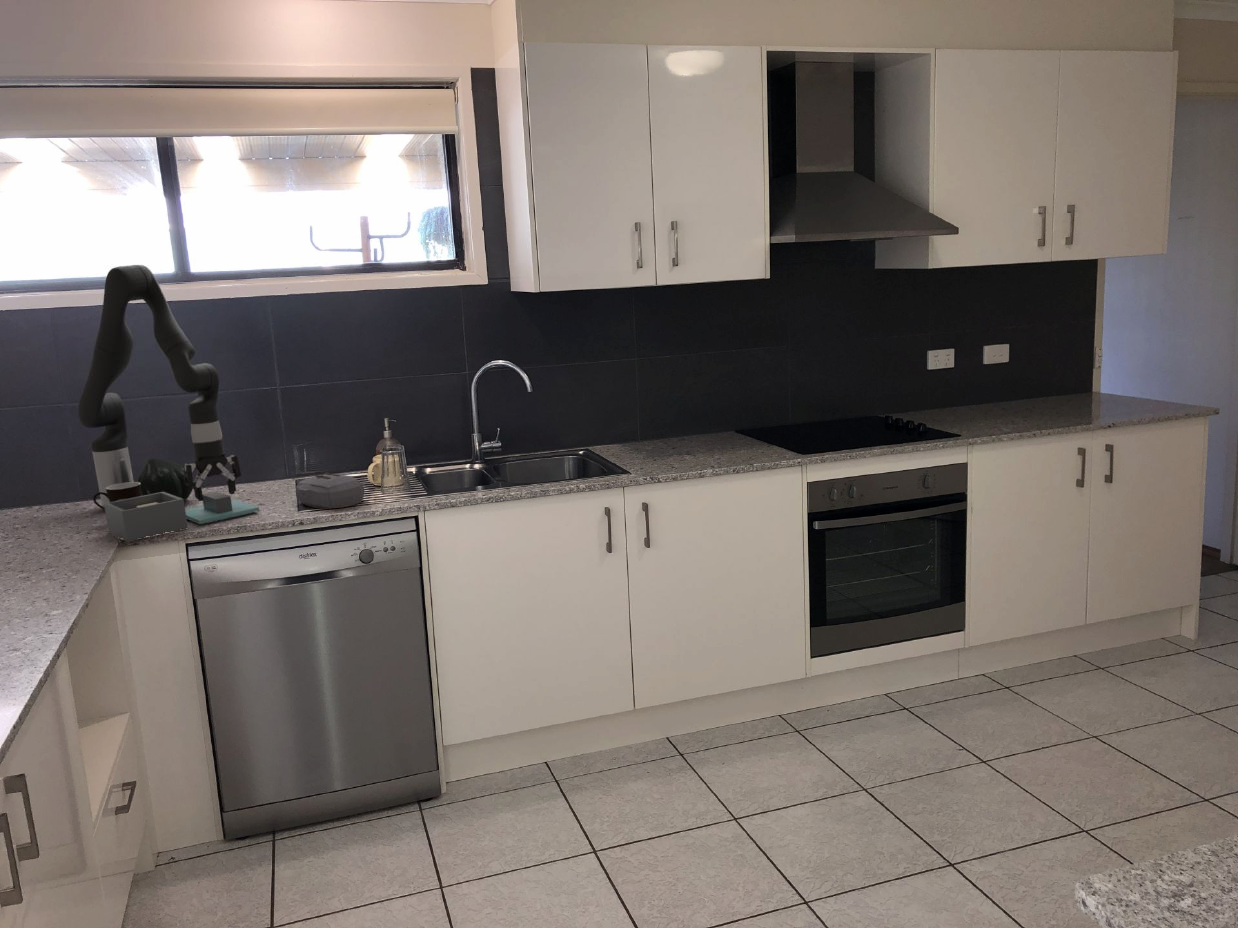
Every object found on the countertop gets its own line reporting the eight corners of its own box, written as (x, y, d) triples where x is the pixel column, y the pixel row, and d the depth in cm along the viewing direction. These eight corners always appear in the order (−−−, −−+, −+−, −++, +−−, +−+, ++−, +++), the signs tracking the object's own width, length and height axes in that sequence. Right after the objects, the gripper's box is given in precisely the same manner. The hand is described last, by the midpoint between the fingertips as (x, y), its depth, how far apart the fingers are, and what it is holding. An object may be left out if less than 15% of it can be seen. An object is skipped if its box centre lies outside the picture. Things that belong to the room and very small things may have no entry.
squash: (210, 479, 294) (172, 443, 292) (184, 493, 279) (143, 456, 278) (182, 511, 297) (144, 476, 296) (155, 526, 283) (114, 490, 281)
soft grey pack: (289, 506, 277) (331, 514, 264) (285, 477, 275) (327, 483, 263) (335, 494, 288) (378, 501, 276) (332, 466, 287) (374, 471, 274)
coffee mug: (153, 517, 274) (147, 482, 272) (130, 525, 266) (124, 489, 264) (118, 516, 277) (112, 482, 275) (95, 525, 269) (89, 489, 267)
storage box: (109, 533, 259) (103, 503, 258) (168, 520, 269) (163, 491, 268) (127, 542, 248) (121, 511, 247) (188, 528, 258) (183, 498, 257)
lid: (179, 518, 272) (175, 497, 270) (236, 506, 282) (233, 485, 281) (200, 527, 260) (196, 505, 259) (259, 514, 270) (256, 492, 269)
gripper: (228, 433, 274) (236, 490, 277) (175, 442, 265) (184, 500, 268) (238, 435, 268) (247, 493, 272) (185, 444, 259) (194, 504, 262)
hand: (216, 497), depth 270 cm, fingers open, 8 cm apart
